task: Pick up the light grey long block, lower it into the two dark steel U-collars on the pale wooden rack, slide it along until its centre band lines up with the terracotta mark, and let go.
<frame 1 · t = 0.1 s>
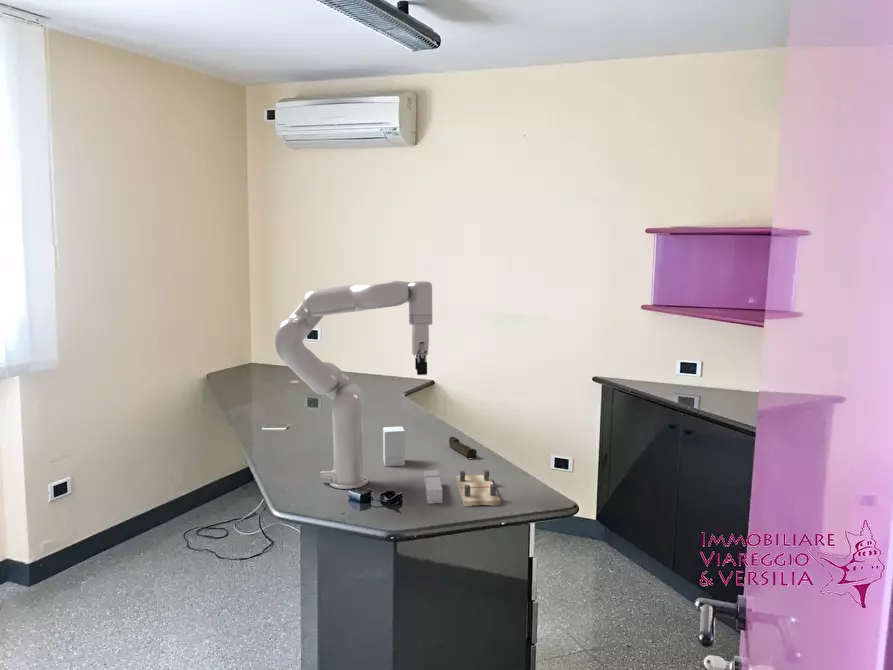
hand: (421, 372, 220), 37 cm above the table, tool pointing down, fingers open, 9 cm apart
supplement box: (394, 463, 244), on the table
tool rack: (477, 492, 214), on the table
light grey long block: (433, 493, 212), on the table
hand tool: (459, 453, 257), on the table
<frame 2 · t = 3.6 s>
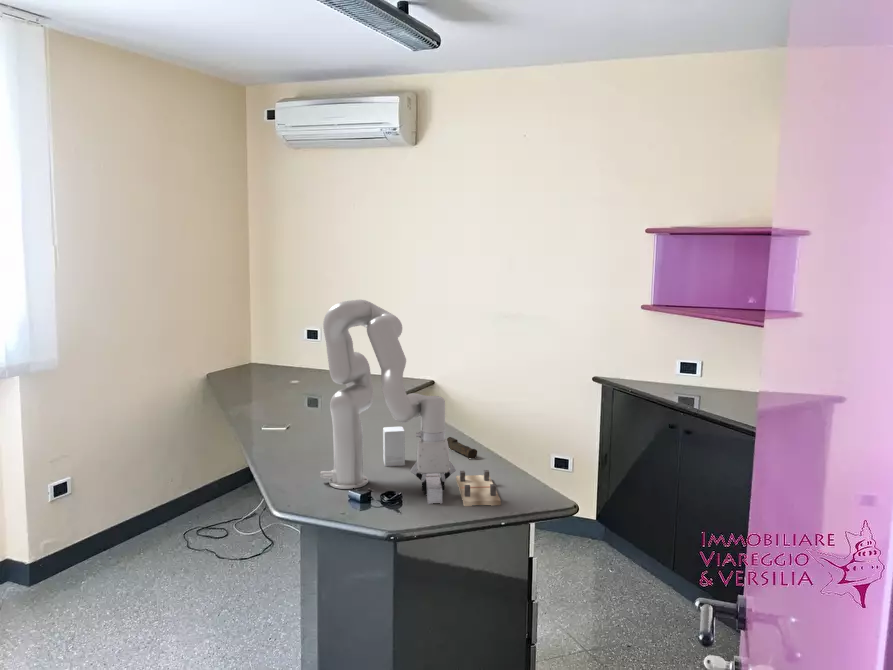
hand: (433, 492, 212), 0 cm above the table, tool pointing down, fingers closed on light grey long block, 4 cm apart
light grey long block: (433, 493, 212), on the table, touching gripper
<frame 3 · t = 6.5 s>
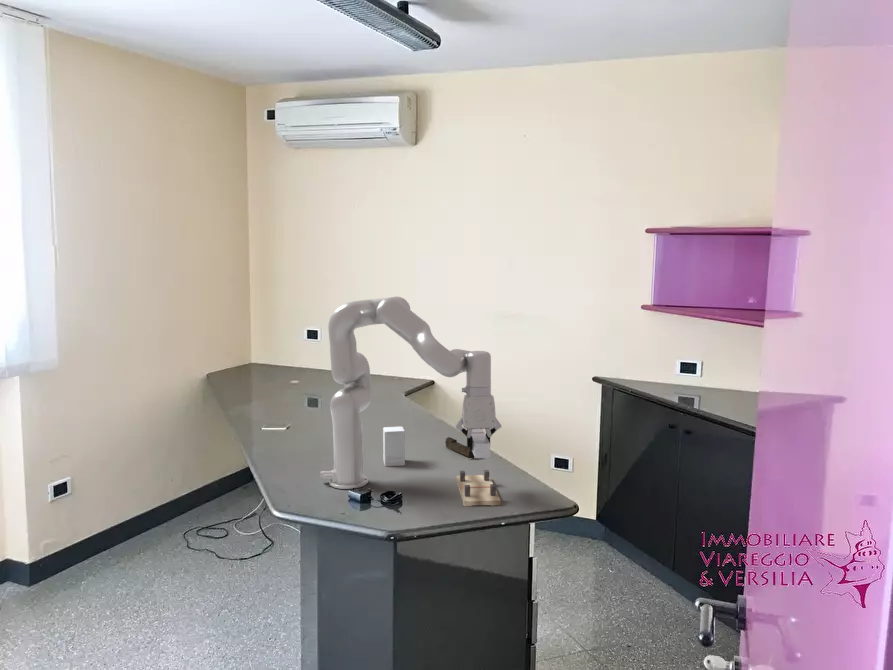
hand: (478, 448, 210), 15 cm above the table, tool pointing down, fingers closed on light grey long block, 4 cm apart
light grey long block: (478, 449, 210), point 14 cm above the table, touching gripper
everything else where it was.
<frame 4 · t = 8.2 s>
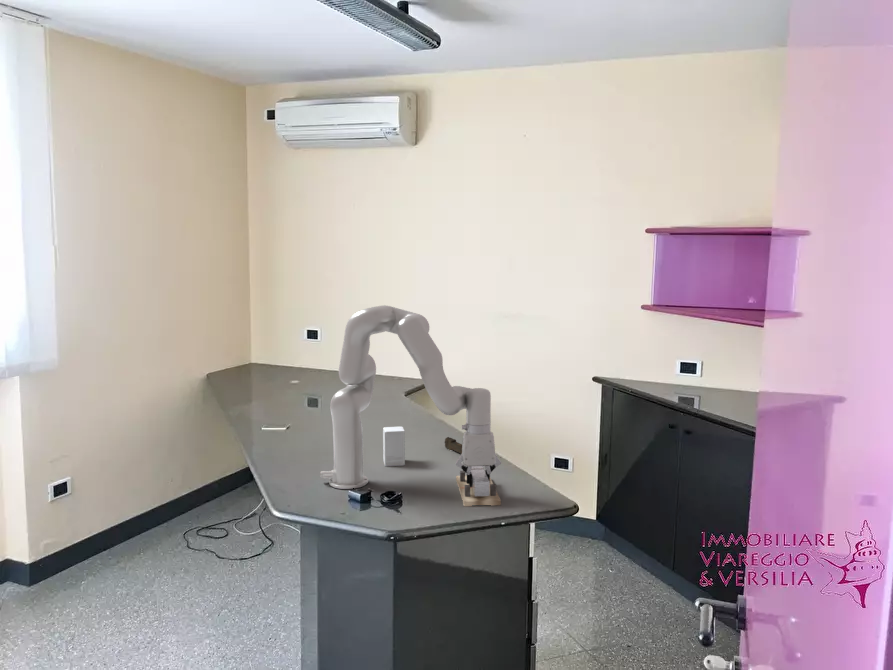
hand: (478, 485, 211), 3 cm above the table, tool pointing down, fingers closed on light grey long block, 4 cm apart
light grey long block: (478, 486, 211), point 3 cm above the table, touching gripper
when the fingers open (3 cm above the table, at t = 9.7 s): light grey long block stays where it is, resting on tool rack.
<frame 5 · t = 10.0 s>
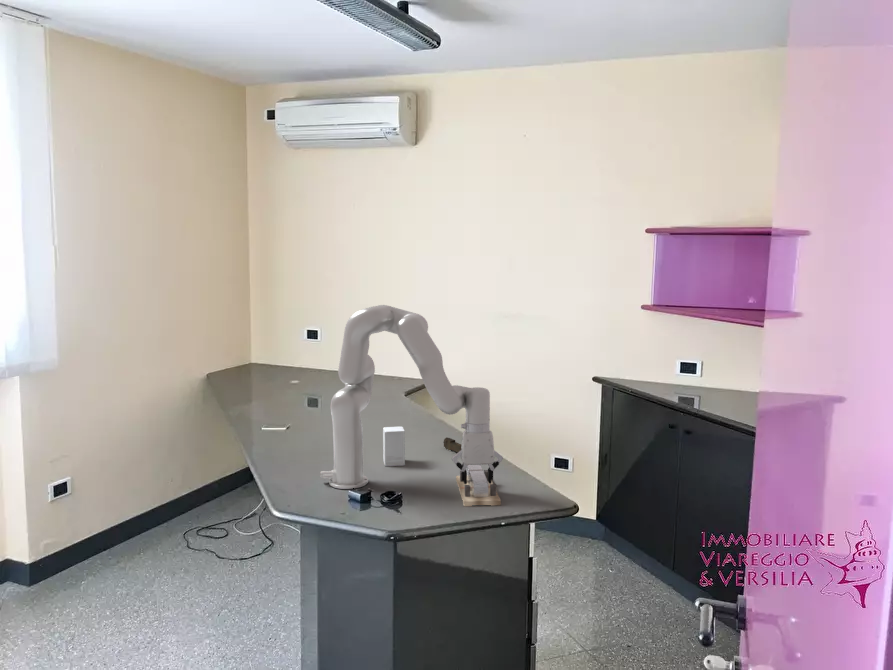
hand: (477, 481, 213), 3 cm above the table, tool pointing down, fingers open, 7 cm apart
light grey long block: (477, 487, 213), point 2 cm above the table, touching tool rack
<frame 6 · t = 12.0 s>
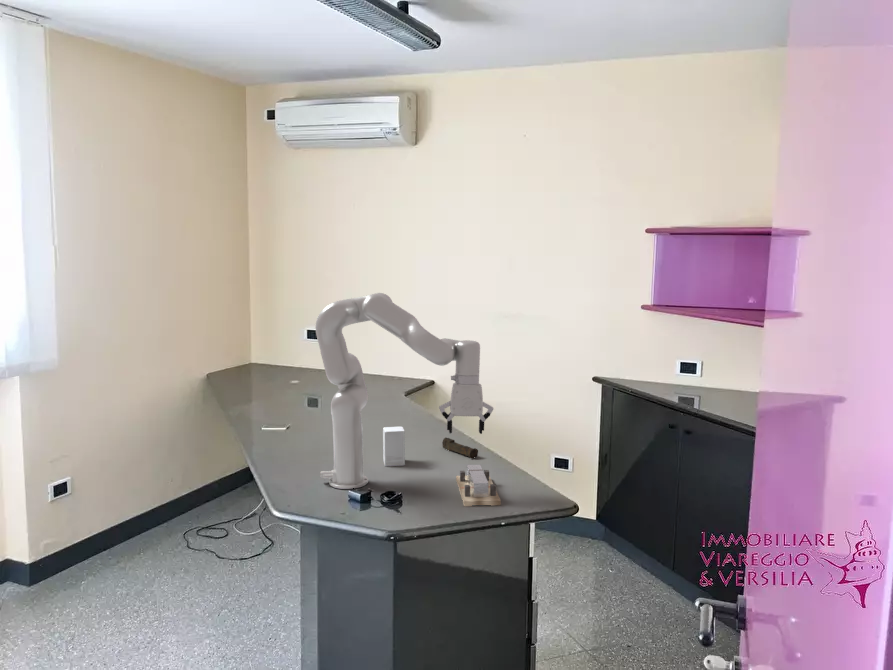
hand: (465, 432, 216), 18 cm above the table, tool pointing down, fingers open, 9 cm apart
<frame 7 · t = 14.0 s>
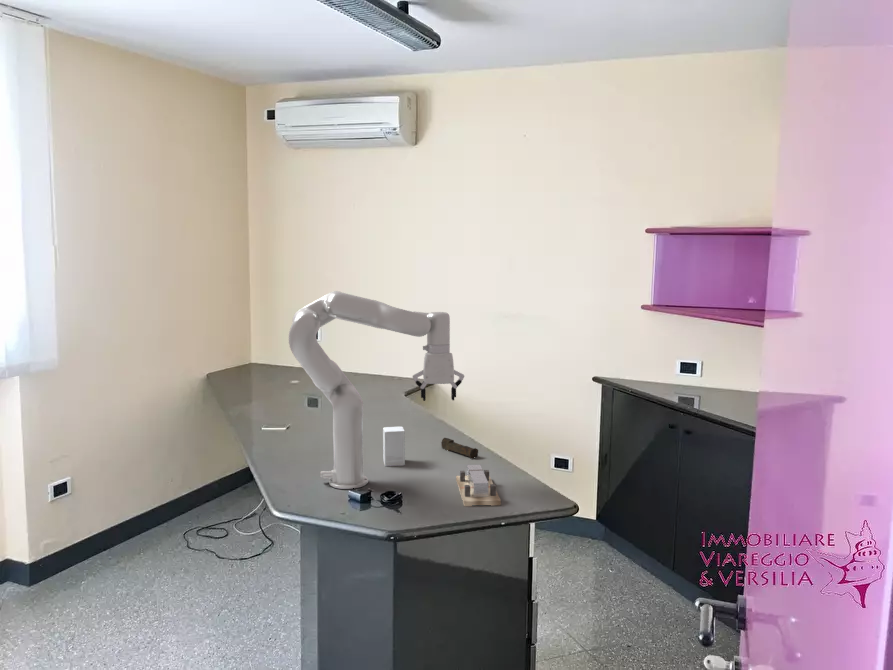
hand: (438, 399, 227), 26 cm above the table, tool pointing down, fingers open, 9 cm apart
at the end: light grey long block 0.0 cm off-centre on the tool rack, point 1.6 cm above the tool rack's base; light grey long block touching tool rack; the gripper is holding nothing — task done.
